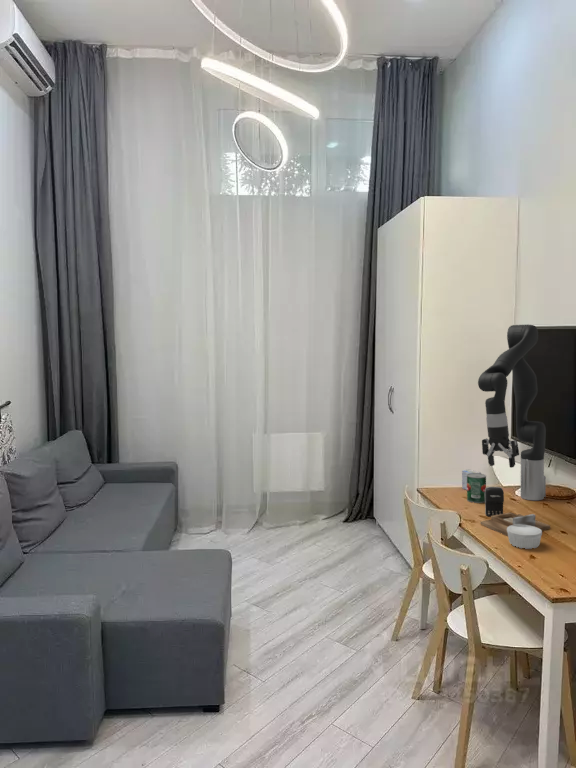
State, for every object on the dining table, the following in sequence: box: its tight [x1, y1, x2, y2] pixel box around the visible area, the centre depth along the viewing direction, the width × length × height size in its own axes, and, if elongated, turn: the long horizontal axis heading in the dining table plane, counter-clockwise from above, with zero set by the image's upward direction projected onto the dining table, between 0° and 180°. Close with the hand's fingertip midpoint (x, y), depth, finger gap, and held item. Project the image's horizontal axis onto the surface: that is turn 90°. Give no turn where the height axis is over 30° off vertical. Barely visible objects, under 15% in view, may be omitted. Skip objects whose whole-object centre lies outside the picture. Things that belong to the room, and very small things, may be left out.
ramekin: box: [507, 525, 543, 550], centre depth 199 cm, size 11×11×5 cm
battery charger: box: [484, 486, 505, 517], centre depth 229 cm, size 7×4×11 cm, turn 77°
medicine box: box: [461, 469, 482, 491], centre depth 267 cm, size 8×4×9 cm, turn 27°
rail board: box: [480, 512, 551, 537], centre depth 217 cm, size 19×15×5 cm
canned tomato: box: [466, 473, 487, 504], centre depth 251 cm, size 8×8×11 cm
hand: (501, 466), depth 225 cm, fingers open, 8 cm apart
